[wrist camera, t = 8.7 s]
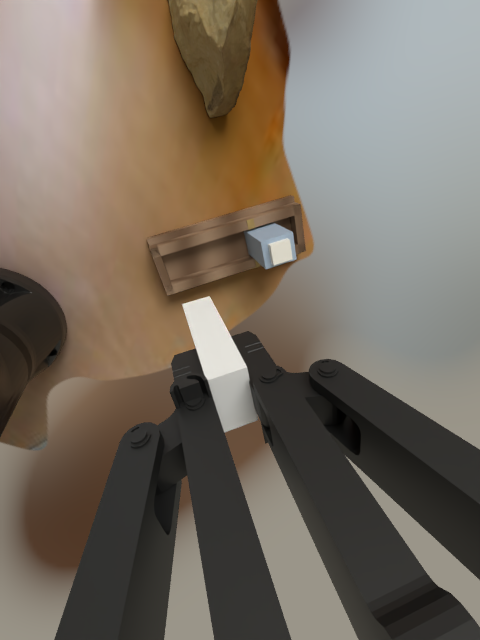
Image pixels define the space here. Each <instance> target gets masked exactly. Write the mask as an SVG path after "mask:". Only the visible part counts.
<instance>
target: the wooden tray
mask: <svg viewBox="0 0 480 640" xmlns="http://www.w3.org/2000/svg"><path fill="white" fill-rule="evenodd" d="M272 222H273V223H275V224H278V225H280V226H282V227H284V228H286V229H288V230H290V231H292V232H293V237H294V244H295V252H296V254H299V253H301V252H304V251H306V249H305V240H304V231H303V223H302V214H301V205H300V204H298V203H295V202H294V196H291V195H290V196H287V197H284V198H280V199H277V200H273V201H270V202H267V203H263V204H260V205H256V206H253V207H250V208H246V209H243V210H240V211H236V212H233V213H229V214H226V215H223V216H219V217H216V218H212V219H209V220H206V221H202V222H199V223H195V224H192V225H189V226H185V227H182V228H179V229H175V230H172V231H168V232H165V233H162V234H158V235H155V236H151V237H148V238H147V241H148V244H149V249H150V252H151V254H152V257H153V260H154V262H155V265H156V267H157V270H158V273H159V275H160V278H161V280H162V283H163V286H164V288H165V291H166V293H167V296H169V295H172V294H175V293H178V292H182V291H185V290H188V289H191V288H194V287H197V286H200V285H203V284H206V283H209V282H212V281H216V280H219V279H222V278H225V277H228V276H231V275H234V274H237V273H240V272H243V271H247V270H250V269H254V268H258V267H259V266H262V265H260V264H259V263H258V262H257V261H256V260H255V259H254V258H253V257H251V256H250V255H249V253H248V249H247V244H246V239H245V235H244V231H245V230H250V229H253V228H255V227H258V226H262V225H265V224H268V223H272Z"/></svg>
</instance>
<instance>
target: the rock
mask: <svg viewBox="0 0 480 640" xmlns="http://www.w3.org/2000/svg"><path fill="white" fill-rule="evenodd" d="M168 1H169V7H170V12H171V16H172V26H173V30H174V38H175V40H176V42H177V45H178V46H179V49H180V52H181V55H182V58H183V60H184V61H185V63H186V65H187V67H188V69H189V70H190V71H191V73H192V75H193V77H194V81H195V83H196V85H197V87H198V88H199V90H200V91H201V92H202V94H203V96H204V102H205V105H206V111H207V113H208V115H209V117H210V118H212V117H217V116H223V115H225V114H228V113H229V112H230V111H231V110H232V108H233V107H235V105H236V102H237V98H238V96H239V92H240V91H241V89H242V86H243V82H244V75H245V72H246V69H247V63H248V60H249V55H250V50H251V37H252V31H253V24H254V19H255V11H256V4H257V0H168Z"/></svg>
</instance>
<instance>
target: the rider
mask: <svg viewBox="0 0 480 640" xmlns="http://www.w3.org/2000/svg"><path fill="white" fill-rule="evenodd" d="M244 235H245V239H246V244H247V249H248V253H249V255H250V256H251V257H253V258H254V259H255V260H256V261H257V262H258V263H259V264H260V265H262V266H263V267H264V268H265V269H269V268H272V267H275V266H278V265H281V264H284V263H287V262H290V261H293V260H296V252H295V244H294V237H293V232H292V231H290V230H288V229H286V228H284V227H282V226H280V225H278V224H275V223H273V222H272V223H268V224H265V225H262V226H258V227H255V228H253V229H250V230H245V231H244Z"/></svg>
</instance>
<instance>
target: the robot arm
mask: <svg viewBox="0 0 480 640" xmlns="http://www.w3.org/2000/svg"><path fill="white" fill-rule="evenodd" d="M182 305H183V308H184V312H185V315H186V318H187V321H188V324H189V328H190V331H191V334H192V337H193V341H194V344H195V347H196V349H193V350H190V351H186V352H183V353H180V354H177V355H175V356H174V358H173V360H172V363H171V365H172V370H173V376H174V382H173V384H172V385H171V387H170V394H171V396H172V399H173V401H174V404H175V406H176V410H175V411H174V413H173V414H172V415H171V416H170V417H169V418H168V419H167V420H165V421H164V422H162V423H160V424H159V425H156V424H153V423H150V422H148V423H141V424H138V425H136V426H134V427H132V428H131V429H129V430H128V431H127V433H125V434H124V436H123V437H122V439H121V441H120V444H119V447H118V450H117V453H116V456H115V459H114V462H113V465H112V468H111V471H110V474H109V477H108V480H107V483H106V486H105V489H104V492H103V495H102V498H101V501H100V504H99V507H98V510H97V513H96V516H95V519H94V522H93V525H92V528H91V531H90V534H89V537H88V540H87V543H86V546H85V549H84V552H83V555H82V558H81V561H80V564H79V567H78V570H77V573H76V576H75V579H74V582H73V586H72V588H71V591H70V594H69V597H68V600H67V603H66V606H65V609H64V612H63V615H62V618H61V621H60V624H59V627H58V630H57V633H56V637H55V640H164V635H165V626H166V617H167V608H168V599H169V590H170V581H171V573H172V563H173V554H174V546H175V537H176V528H177V518H178V509H179V501H180V492H181V484H182V483H181V479H182V478H184V477H185V476H186V475H187V476H188V481H189V488H190V494H191V500H192V505H193V512H194V518H195V524H196V531H197V537H198V543H199V548H200V555H201V561H202V567H203V573H204V579H205V585H206V591H207V597H208V604H209V609H210V615H211V622H212V627H213V634H214V640H291V637H290V634H289V631H288V628H287V625H286V622H285V619H284V616H283V612H282V609H281V606H280V603H279V600H278V597H277V594H276V591H275V588H274V585H273V582H272V579H271V575H270V572H269V569H268V566H267V563H266V560H265V557H264V554H263V551H262V548H261V545H260V541H259V538H258V535H257V532H256V529H255V526H254V523H253V520H252V517H251V514H250V511H249V507H248V504H247V501H246V498H245V495H244V492H243V489H242V486H241V483H240V480H239V477H238V474H237V471H236V467H235V464H234V461H233V458H232V455H231V452H230V449H229V446H228V443H227V440H226V436H225V433H224V432H227V431H230V430H232V429H235V428H238V427H240V426H243V425H246V424H249V423H251V422H254V421H257V420H258V416H259V418H260V421H261V425H262V430H263V434H264V439H265V443H269V445H270V448H271V450H272V452H273V454H274V456H275V458H276V461H277V463H278V465H279V467H280V469H281V471H282V474H283V476H284V478H285V480H286V482H287V485H288V487H289V489H290V491H291V493H292V495H293V498H294V500H295V502H296V504H297V506H298V508H299V511H300V513H301V515H302V517H303V519H304V522H305V524H306V526H307V528H308V530H309V532H310V535H311V537H312V539H313V541H314V543H315V546H316V548H317V550H318V552H319V554H320V556H321V559H322V561H323V563H324V565H325V567H326V570H327V572H328V574H329V576H330V578H331V580H332V583H333V585H334V587H335V589H336V591H337V593H338V596H339V598H340V600H341V602H342V604H343V607H344V609H345V611H346V613H347V615H348V617H349V620H350V622H351V624H352V626H353V628H354V630H355V633H356V635H357V637H358V639H359V640H480V627H479V626H478V624H477V623H476V622H475V620H474V619H473V618H472V616H471V615H470V614H469V613H468V611H467V610H466V609H465V608H464V606H463V605H462V604H461V603H460V602H459V601H458V600H457V599H456V598H455V597H454V596H453V595H452V594H451V593H449V592H447V591H445V590H443V589H442V588H440V587H438V586H437V585H436V584H435V583H434V582H433V581H432V579H431V578H430V577H429V575H428V574H427V573H426V571H425V570H424V569H423V567H422V566H421V564H420V563H419V561H418V560H417V559H416V557H415V556H414V554H413V553H412V551H411V550H410V548H409V547H408V546H407V544H406V543H405V541H404V540H403V538H402V537H401V536H400V534H399V533H398V531H397V530H396V528H395V527H394V525H393V524H392V523H391V521H390V520H389V518H388V517H387V515H386V514H385V513H384V511H383V510H382V508H381V507H380V505H379V504H378V502H377V501H376V500H375V498H374V497H373V495H372V494H371V492H370V491H369V490H368V488H367V487H366V485H365V484H364V482H363V481H362V480H361V478H360V477H359V475H358V474H357V472H356V471H355V470H354V468H353V467H352V465H351V464H350V462H349V461H348V459H347V458H346V457H345V455H346V456H347V457H348V458H349V459H350V460H351V461H352V462H353V463H354V464H355V465H356V466H357V467H358V468H360V469H361V470H362V471H363V472H364V473H365V474H366V475H367V476H368V477H369V478H370V479H372V480H373V481H374V482H375V483H376V484H377V485H378V486H379V487H380V488H381V489H382V490H383V491H385V493H387V494H388V495H389V496H390V497H391V498H392V499H393V500H394V501H395V502H396V503H397V504H399V505H400V506H401V507H402V508H403V509H404V510H405V511H406V512H407V513H408V514H409V515H410V516H411V517H412V518H414V519H415V520H416V521H417V522H418V523H419V524H420V525H421V526H422V527H423V528H424V529H425V530H426V531H428V532H429V533H430V534H431V535H432V536H433V537H434V538H435V539H436V540H437V541H438V542H439V543H441V544H442V545H443V546H444V547H445V548H446V549H447V550H448V551H449V552H450V553H451V554H452V555H453V556H455V557H456V558H457V559H458V560H459V561H460V562H461V563H462V564H463V565H464V566H466V568H468V569H469V570H470V571H471V572H472V573H473V574H474V575H475V576H476V577H477V578H478V579H480V450H479V449H478V448H476V447H475V446H473V445H471V444H470V443H468V442H467V441H465V440H463V439H462V438H460V437H459V436H457V435H455V434H454V433H452V432H451V431H449V430H447V429H446V428H444V427H442V426H441V425H439V424H438V423H436V422H435V421H433V420H431V419H430V418H428V417H427V416H425V415H424V414H422V413H420V412H419V411H417V410H416V409H414V408H412V407H411V406H409V405H408V404H406V403H404V402H403V401H401V400H400V399H398V398H396V397H395V396H393V395H392V394H390V393H388V392H387V391H385V390H384V389H382V388H380V387H379V386H377V385H376V384H374V383H372V382H371V381H369V380H367V379H366V378H365V377H363V376H361V375H360V374H358V373H357V372H355V371H353V370H351V369H350V368H348V367H347V366H345V365H344V364H342V363H340V362H338V361H336V360H331V359H324V360H319V361H316V362H315V363H313V364H312V365H311V366H310V369H309V372H303V373H289V372H286V371H285V370H284V369H283V368H282V367H279V366H276V364H275V363H274V362H273V360H272V358H271V357H270V355H269V354H268V353H267V351H266V350H265V348H264V347H263V345H262V343H260V341H259V339H258V338H257V336H256V335H254V334H253V333H251V332H249V331H247V332H244V333H241V334H237V335H234V336H230V334H229V332H228V330H227V328H226V326H225V324H224V322H223V321H222V319H221V317H220V315H219V313H218V311H217V309H216V307H215V305H214V304H213V302H212V300H211V298H210V296H208V297H205V298H201V299H198V300H194V301H191V302H188V303H184V304H182ZM66 332H67V326H66V320H65V316H64V313H63V311H62V309H61V307H60V305H59V304H58V302H57V301H56V300H55V298H54V297H53V296H52V295H51V294H50V293H49V292H48V291H47V290H46V289H45V288H44V287H42V286H41V285H40V284H38V283H37V282H35V281H33V280H32V279H30V278H28V277H26V276H24V275H21V274H19V273H16V272H13V271H10V270H6V269H1V268H0V437H1V435H2V433H3V431H4V429H5V427H6V425H7V423H8V421H9V419H10V417H11V415H12V413H13V411H14V409H15V407H16V405H17V403H18V401H19V399H20V397H21V395H22V393H23V391H24V389H25V386H26V384H27V383H28V382H29V381H30V380H32V379H33V378H34V377H36V376H37V375H38V374H40V373H41V372H42V371H44V370H45V369H46V368H48V367H49V366H50V365H51V364H52V363H53V362H54V360H55V359H56V358H57V356H58V355H59V353H60V351H61V348H62V346H63V344H64V341H65V338H66ZM257 414H258V416H257Z"/></svg>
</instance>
